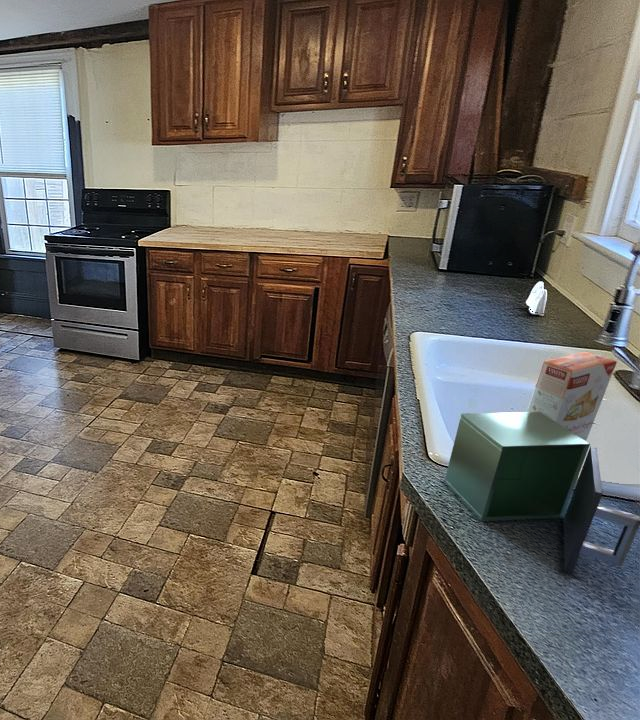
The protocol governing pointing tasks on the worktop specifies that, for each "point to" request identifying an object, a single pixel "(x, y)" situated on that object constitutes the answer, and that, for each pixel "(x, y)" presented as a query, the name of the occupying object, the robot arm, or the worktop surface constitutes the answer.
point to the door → (582, 515)
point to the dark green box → (514, 465)
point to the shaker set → (537, 299)
